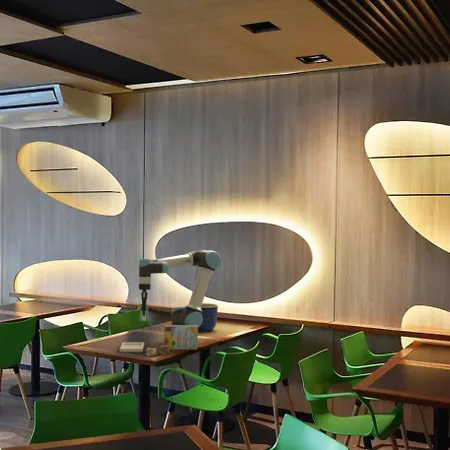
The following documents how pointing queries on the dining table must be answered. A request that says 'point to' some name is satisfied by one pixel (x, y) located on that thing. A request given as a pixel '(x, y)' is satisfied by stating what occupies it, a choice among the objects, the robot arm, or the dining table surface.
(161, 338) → the grey-brown upright piece
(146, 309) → the teal block
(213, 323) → the planter
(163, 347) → the walnut cube
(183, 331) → the snack box
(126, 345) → the tray
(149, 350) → the beech block
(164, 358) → the dining table surface
